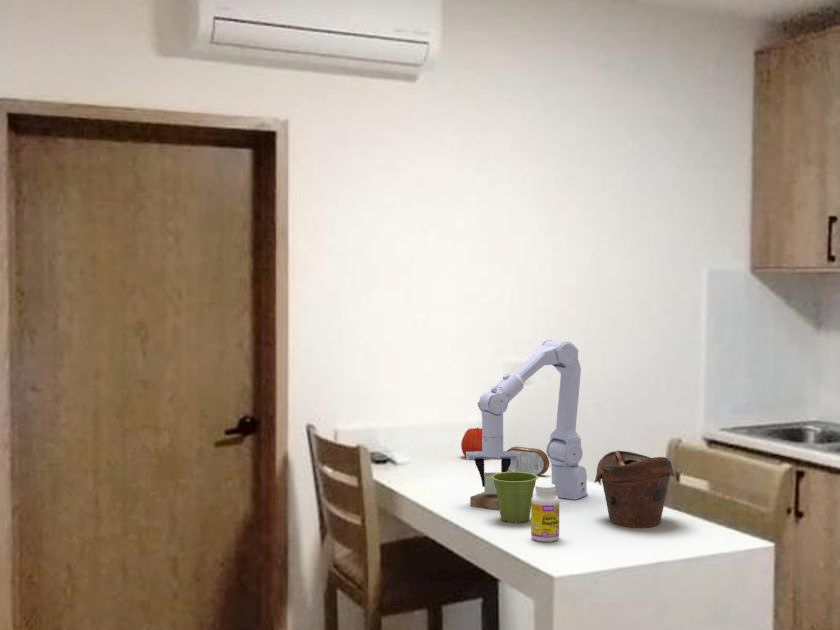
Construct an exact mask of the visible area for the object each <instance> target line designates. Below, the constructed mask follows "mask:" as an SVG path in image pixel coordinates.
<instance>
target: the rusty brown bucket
mask: <svg viewBox="0 0 840 630" xmlns="http://www.w3.org/2000/svg"><path fill="white" fill-rule="evenodd" d="M671 477H674V478H675V472H674V468H673V466H672V461H671V460H669V458H668V457H666V456H665V457H664V456H656V457H650V456H647V455H643V454H640V453H636V452H632V451H627V450H615V451H609V452H608V453H606V454H605V455H603V457H602V458H601V459H600V460H599V461H598V463H597V467H596V474H595V478H594V479H595V480H594V484H595V483H597V482H598V484H599V485H600V486H601V483H602V487H603V493H604V497H605V501H606V502H605V503H606V507H607V514H608V518H609V521H611V523H613V524H615V525H619V526H623V527H627V528H637V529H638V528H640V529H641V528H642V529H643V528H651V527H656V526H658V525H660V524H661V522H662V516H663V511H664V507H665V503H666V498H667V493H668V489H669V484H670V479H671Z"/></svg>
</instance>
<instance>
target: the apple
mask: <svg viewBox="0 0 840 630" xmlns="http://www.w3.org/2000/svg"><path fill="white" fill-rule="evenodd" d="M460 447H461V452H462V454H463V455H464V457H466V452H476V451H482V427H481V428H480V427H476V428H474V427H473V428H468V429H467V430H466V431H465V433H464V435H463V436H462V440H461V445H460Z"/></svg>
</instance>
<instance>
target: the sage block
mask: <svg viewBox="0 0 840 630" xmlns="http://www.w3.org/2000/svg"><path fill="white" fill-rule="evenodd" d="M497 473H498V472H484V478H485V487H483V488H484V490H483V492H485V494H497V491H496V488H495V484H494V480H493V479H492V475H494V474H497Z"/></svg>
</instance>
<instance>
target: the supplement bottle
mask: <svg viewBox="0 0 840 630" xmlns="http://www.w3.org/2000/svg"><path fill="white" fill-rule="evenodd" d="M534 489H535V492H536V493H535V495H534V494H533V497H532V499H531V511H530V517H531V518H530V521H531V523H530V527H531V528H530V537H531V538H532V540H534V541H537V542H543V543H545V542H546V543H550V542H555V541H557V540H559V538H560V498H559V497H557V496H556V495H555V494H554V492H555V485H554V484H552V483H548V482H547V483H546V482H543V483H535V488H534Z"/></svg>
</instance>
